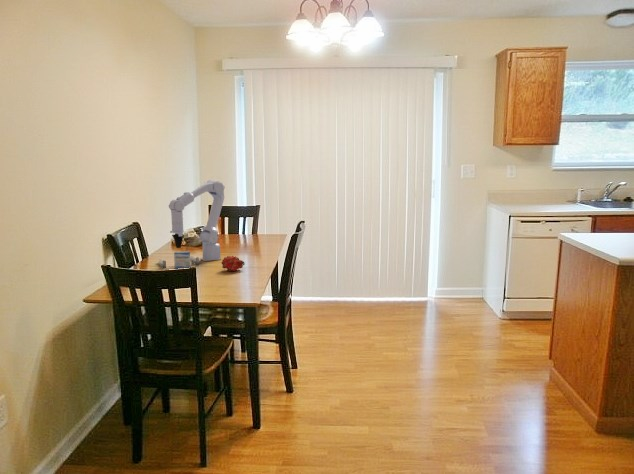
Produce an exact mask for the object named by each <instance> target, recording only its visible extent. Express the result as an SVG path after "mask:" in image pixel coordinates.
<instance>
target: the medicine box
mask: <svg viewBox="0 0 634 474" xmlns="http://www.w3.org/2000/svg"><path fill="white" fill-rule="evenodd" d="M173 255H174V257H173V258H174V259H173V260H174V270H179V269H178V268H189V267H190V268H191V260H190V256H191V252H190V250H185V251H183V250H182V251H174V252H173Z"/></svg>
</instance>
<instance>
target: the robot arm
mask: <svg viewBox="0 0 634 474" xmlns="http://www.w3.org/2000/svg"><path fill="white" fill-rule="evenodd" d="M206 192H208V193H209V194H210V195H211V197H212V199H213V200H212V204H211V208H210V211H209V215H208V219H207V222H206V225H205V226H204V227H203V228H202V231H201V233H200V234H199V240H200V242H201V244H202V257H200V259H201V260H202V261H204V262H209V261H221V260H222V259H221V245H220V243H218V240H219V236H218V234H219V231H218V229H217V227H218V223H219V219H220V215H221V211H222V208H223V204H224V201H225V185H224V184H223V182H221V181H220V180H218V181H217V180H216V181H215V180H207V181H206V182H203V183H202V184H201V185H200V186H198V187H197V188H195V189H194V190H192V191H191V192H186V191H185V192H183V195H180V196H178V197H176V199H171V200H170V202H169V205H168V208H169V209H170V215H171V230H169V233H172V234H171V237H172V239H173V240H174V243H175V244H174V245H175V248H176V249H181V248H182V243H183V240H184V237H185V235H184V233H185V230H184V217H183V215H184V214H183V211H184V209H185V207H186V206H188V205H190V204H192V203H193V202H195V199H196V198H197V197H198V196H199V197H200V196H201V195H202V194H205V193H206Z"/></svg>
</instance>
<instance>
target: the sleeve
mask: <svg viewBox="0 0 634 474" xmlns="http://www.w3.org/2000/svg"><path fill="white" fill-rule="evenodd" d="M157 260H158V264H159V265H160V266H161V267H163V268H166V269H167V261H166V260H162V259H161V258H160V259H157ZM190 262H192V263H193V264H195V266H200V258H199V257H194V256H191V255H190ZM163 268H162V269H163Z"/></svg>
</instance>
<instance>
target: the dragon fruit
mask: <svg viewBox="0 0 634 474" xmlns="http://www.w3.org/2000/svg"><path fill="white" fill-rule="evenodd" d="M221 260H222V261H221V265H222V269H226V270H227V271H228V272H232V271H233V272H239V271H241V270H240V269H243V267H244V266H245V263H246V262H244V261H243V260H241V259H239V257H238V256H234V255H227V256H225V257H224V258H223V259H221Z"/></svg>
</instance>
